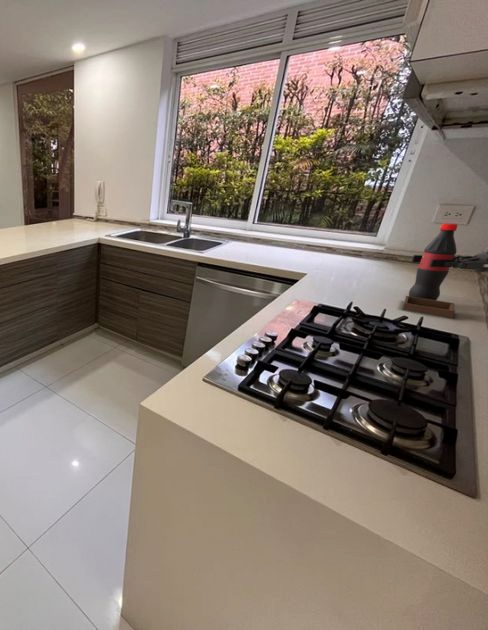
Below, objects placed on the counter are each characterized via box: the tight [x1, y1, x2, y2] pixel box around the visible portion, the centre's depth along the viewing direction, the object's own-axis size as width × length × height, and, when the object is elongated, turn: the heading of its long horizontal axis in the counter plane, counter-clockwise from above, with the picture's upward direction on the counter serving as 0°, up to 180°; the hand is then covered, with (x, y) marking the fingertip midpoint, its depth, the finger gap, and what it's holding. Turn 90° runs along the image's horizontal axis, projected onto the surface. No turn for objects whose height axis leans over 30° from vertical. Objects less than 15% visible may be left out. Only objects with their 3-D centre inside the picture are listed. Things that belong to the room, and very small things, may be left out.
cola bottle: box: [408, 222, 458, 301], centre depth 129 cm, size 8×8×30 cm
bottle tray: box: [401, 295, 456, 319], centre depth 123 cm, size 13×13×4 cm
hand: (422, 260), depth 130 cm, fingers closed on cola bottle, 8 cm apart
